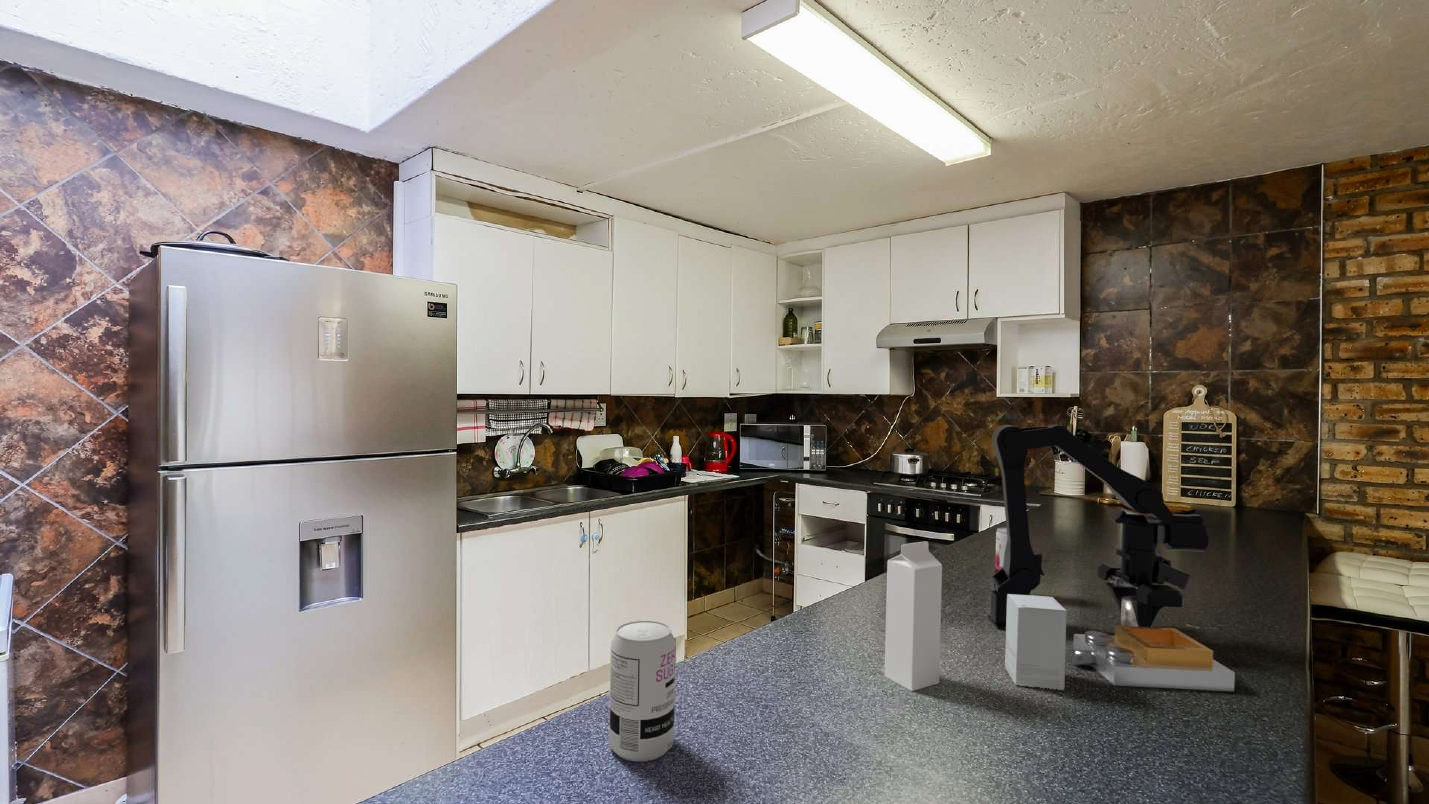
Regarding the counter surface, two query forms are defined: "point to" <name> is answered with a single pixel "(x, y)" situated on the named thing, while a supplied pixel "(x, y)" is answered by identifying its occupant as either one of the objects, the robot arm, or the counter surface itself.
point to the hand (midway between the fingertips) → (1136, 628)
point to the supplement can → (642, 690)
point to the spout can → (1128, 612)
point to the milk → (913, 617)
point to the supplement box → (1035, 641)
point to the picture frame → (1152, 659)
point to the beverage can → (1000, 548)
